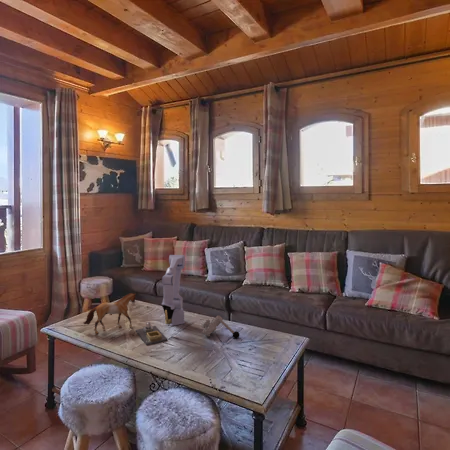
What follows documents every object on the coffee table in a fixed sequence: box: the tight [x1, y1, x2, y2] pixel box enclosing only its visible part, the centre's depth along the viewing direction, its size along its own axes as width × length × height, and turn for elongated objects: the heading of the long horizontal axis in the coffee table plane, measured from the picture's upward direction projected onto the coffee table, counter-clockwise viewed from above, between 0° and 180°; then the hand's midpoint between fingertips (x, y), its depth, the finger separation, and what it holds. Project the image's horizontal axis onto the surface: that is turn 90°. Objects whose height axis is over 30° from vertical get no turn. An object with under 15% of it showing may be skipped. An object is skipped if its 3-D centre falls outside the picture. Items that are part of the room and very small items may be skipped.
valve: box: [202, 315, 241, 340], centre depth 188 cm, size 10×20×15 cm
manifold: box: [135, 321, 168, 346], centre depth 188 cm, size 12×21×6 cm, turn 31°
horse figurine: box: [82, 292, 137, 334], centre depth 195 cm, size 31×8×21 cm, turn 117°
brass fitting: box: [164, 309, 172, 325], centre depth 191 cm, size 4×4×8 cm
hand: (168, 317), depth 191 cm, fingers closed on brass fitting, 4 cm apart
